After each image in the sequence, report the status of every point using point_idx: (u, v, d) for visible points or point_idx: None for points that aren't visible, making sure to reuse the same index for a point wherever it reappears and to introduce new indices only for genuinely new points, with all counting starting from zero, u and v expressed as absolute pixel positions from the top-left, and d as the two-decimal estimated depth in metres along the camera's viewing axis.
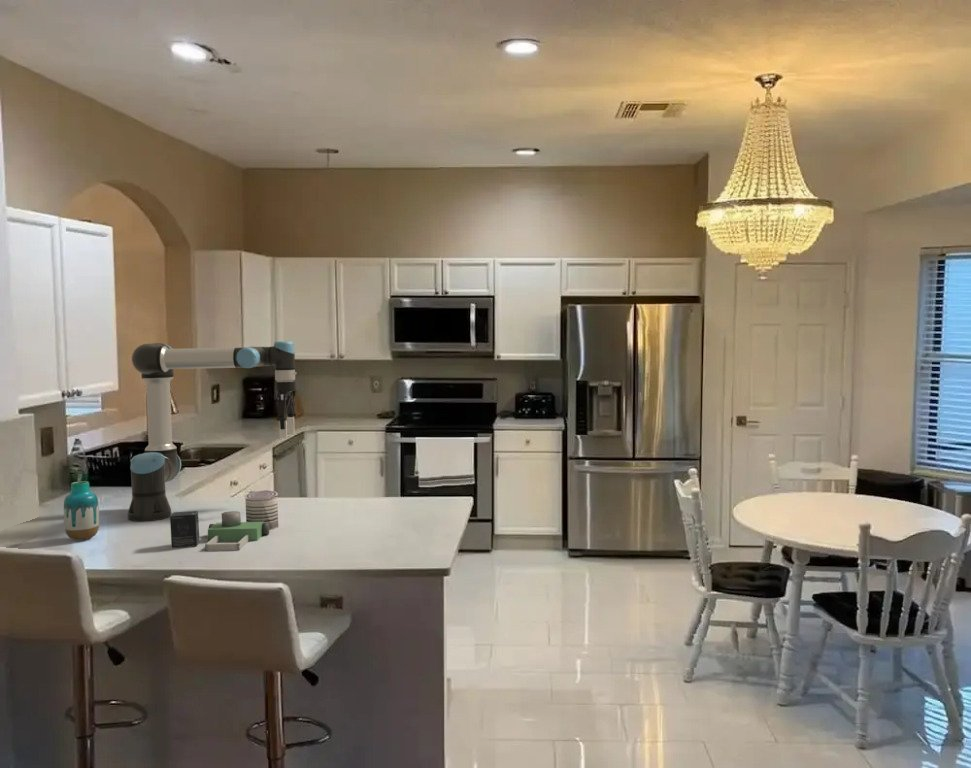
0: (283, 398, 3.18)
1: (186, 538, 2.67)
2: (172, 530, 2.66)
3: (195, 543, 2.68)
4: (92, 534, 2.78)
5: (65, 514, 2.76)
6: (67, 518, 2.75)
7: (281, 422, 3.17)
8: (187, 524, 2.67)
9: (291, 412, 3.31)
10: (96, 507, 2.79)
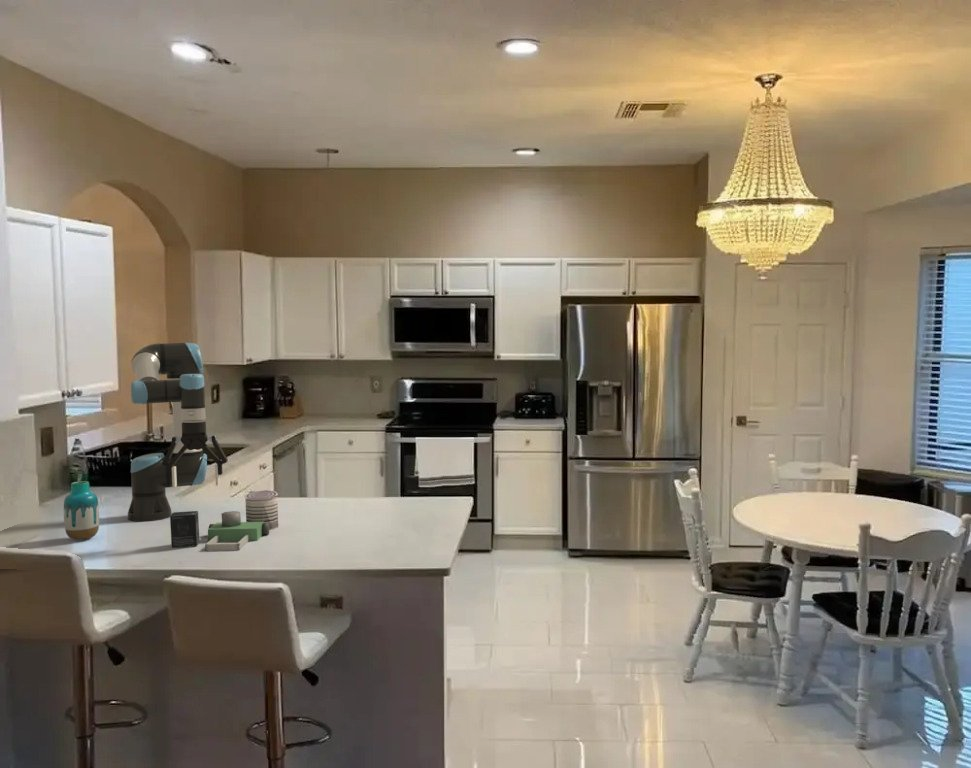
0: None
1: (186, 538, 2.67)
2: (172, 530, 2.66)
3: (195, 543, 2.68)
4: (92, 534, 2.78)
5: (65, 514, 2.76)
6: (67, 518, 2.75)
7: None
8: (187, 524, 2.67)
9: None
10: (96, 507, 2.79)
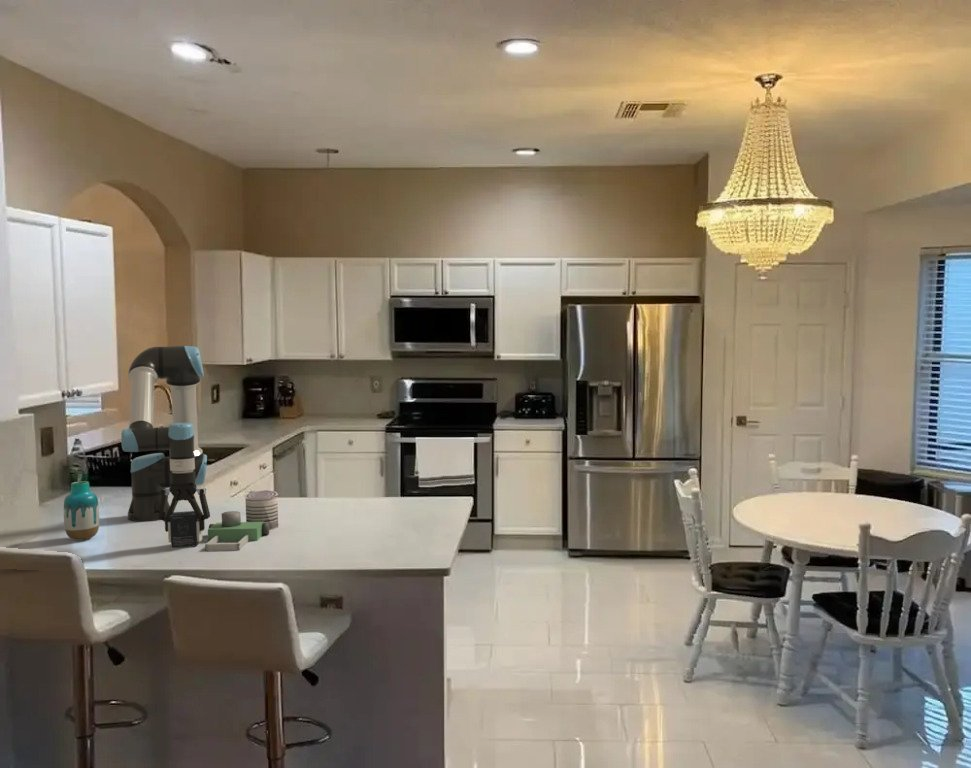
0: None
1: (186, 538, 2.67)
2: (172, 530, 2.66)
3: (195, 543, 2.68)
4: (92, 534, 2.78)
5: (65, 514, 2.76)
6: (67, 518, 2.75)
7: None
8: (187, 524, 2.67)
9: None
10: (96, 507, 2.79)
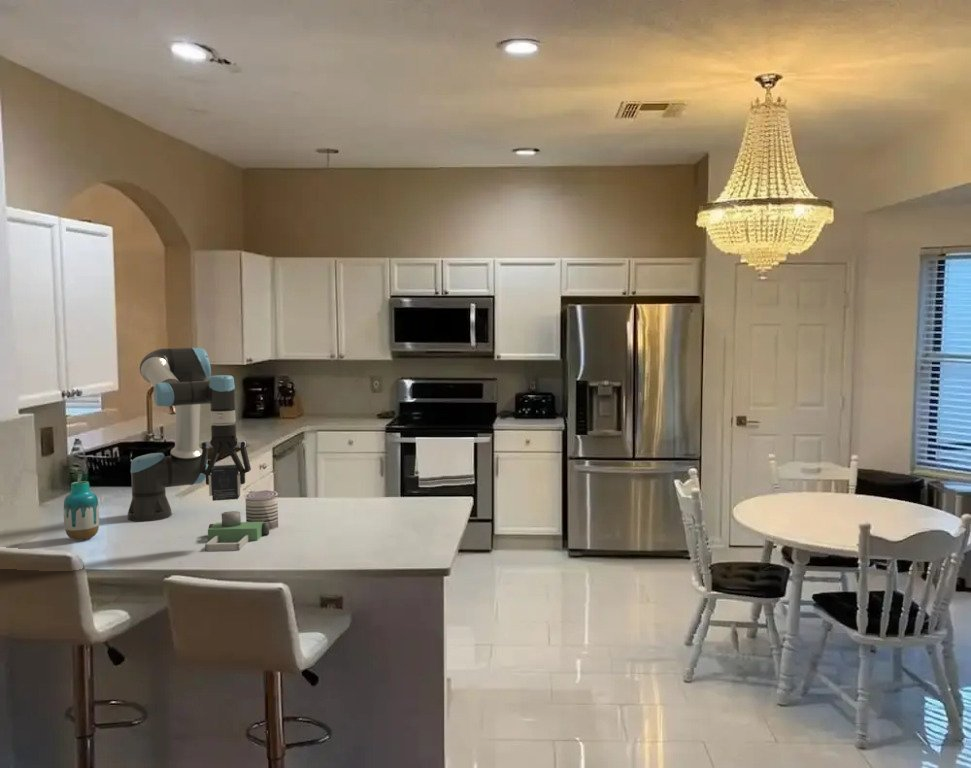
0: None
1: (227, 491, 2.65)
2: (213, 483, 2.64)
3: (236, 496, 2.65)
4: (92, 534, 2.78)
5: (65, 514, 2.76)
6: (67, 518, 2.75)
7: None
8: (228, 477, 2.65)
9: None
10: (96, 507, 2.79)
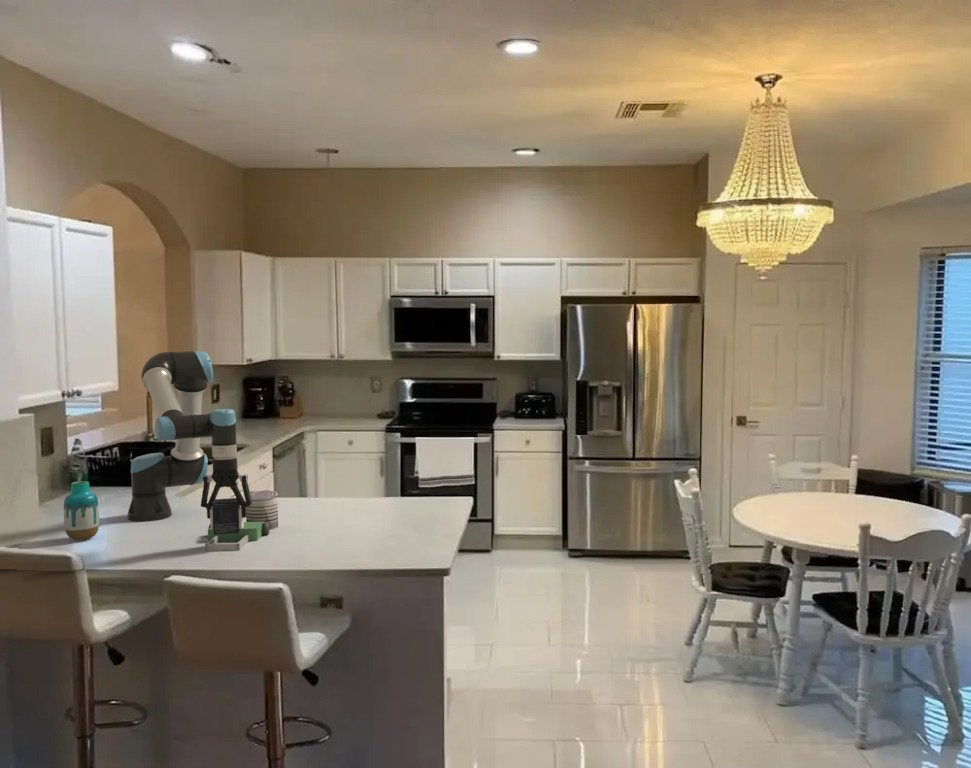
0: None
1: (228, 525, 2.65)
2: (214, 517, 2.65)
3: (237, 530, 2.66)
4: (92, 534, 2.78)
5: (65, 514, 2.76)
6: (67, 518, 2.75)
7: None
8: (229, 511, 2.65)
9: None
10: (96, 507, 2.79)
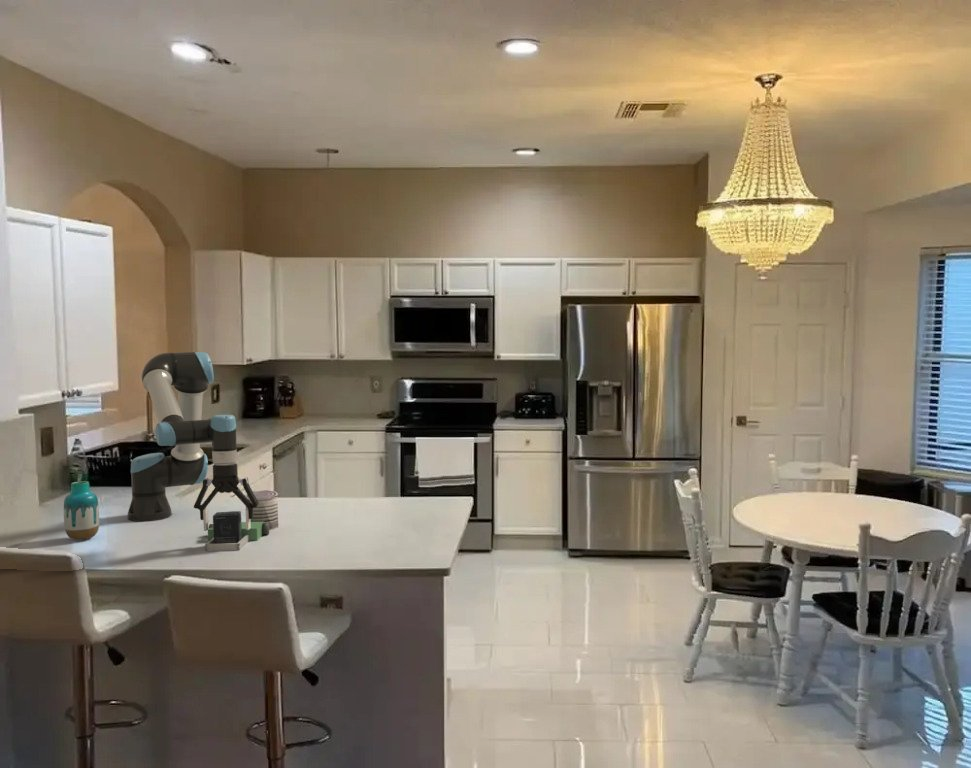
0: None
1: (228, 539, 2.66)
2: (215, 530, 2.65)
3: None
4: (92, 534, 2.78)
5: (65, 514, 2.76)
6: (67, 518, 2.75)
7: None
8: (230, 524, 2.65)
9: None
10: (96, 507, 2.79)
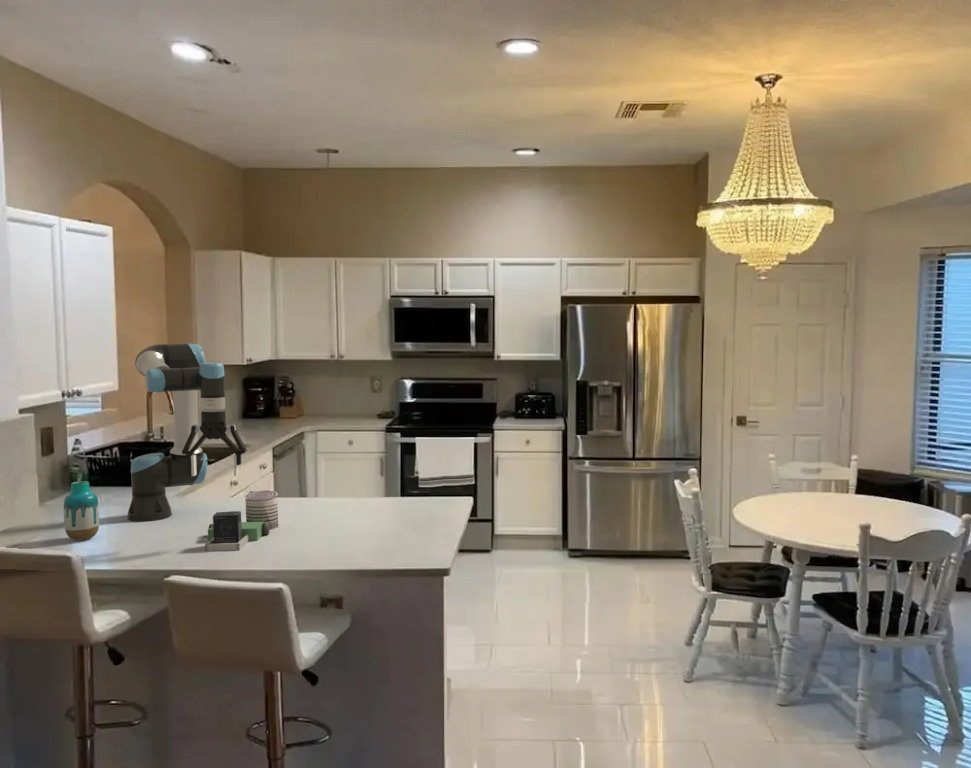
0: None
1: (228, 539, 2.66)
2: (215, 530, 2.65)
3: None
4: (92, 534, 2.78)
5: (65, 514, 2.76)
6: (67, 518, 2.75)
7: None
8: (229, 524, 2.65)
9: None
10: (96, 507, 2.79)
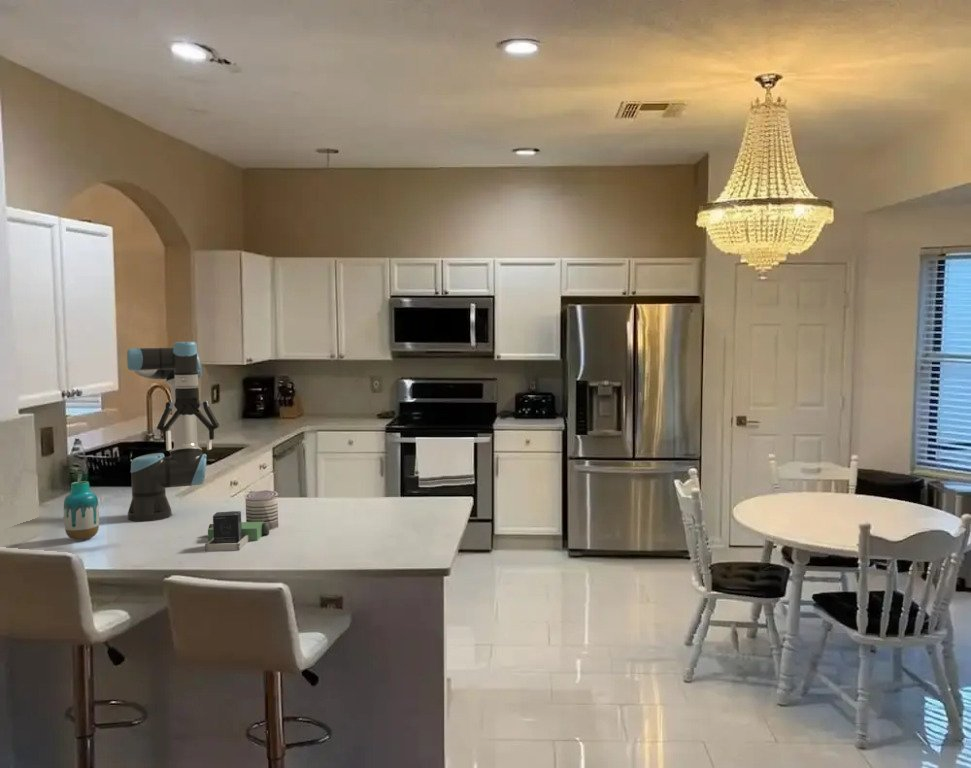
0: None
1: (228, 539, 2.66)
2: (215, 530, 2.65)
3: None
4: (92, 534, 2.78)
5: (65, 514, 2.76)
6: (67, 518, 2.75)
7: None
8: (229, 524, 2.65)
9: None
10: (96, 507, 2.79)
